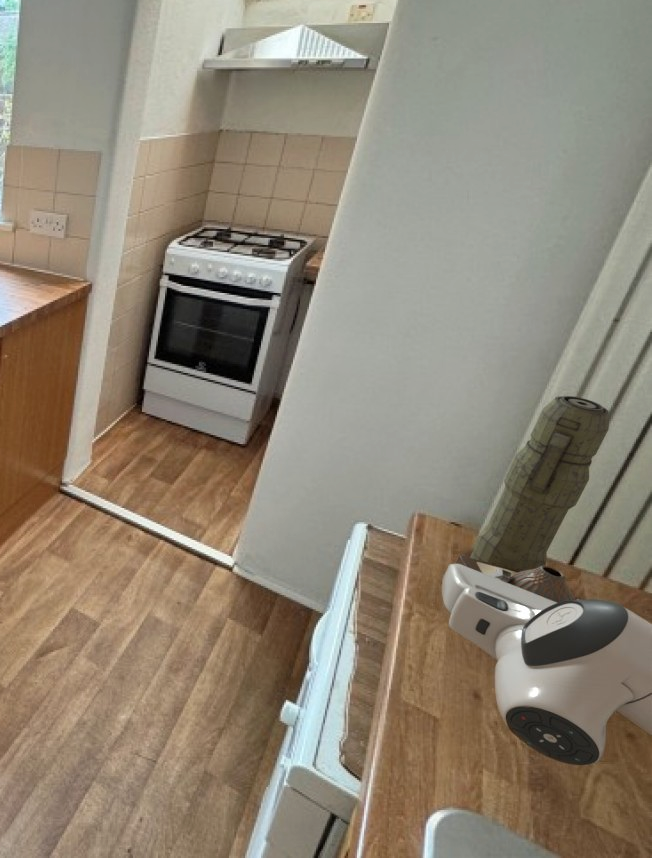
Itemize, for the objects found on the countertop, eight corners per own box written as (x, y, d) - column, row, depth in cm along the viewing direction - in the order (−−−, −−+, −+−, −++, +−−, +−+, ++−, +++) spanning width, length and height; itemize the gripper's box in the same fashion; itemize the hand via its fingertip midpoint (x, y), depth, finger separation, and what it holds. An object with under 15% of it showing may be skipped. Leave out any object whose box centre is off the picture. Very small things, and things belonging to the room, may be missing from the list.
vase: (523, 598, 90) (547, 552, 87) (575, 637, 83) (603, 589, 80) (481, 600, 89) (504, 554, 86) (531, 640, 83) (558, 592, 79)
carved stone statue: (461, 573, 108) (539, 403, 96) (473, 544, 116) (547, 382, 103) (529, 603, 102) (622, 426, 89) (537, 570, 109) (624, 402, 97)
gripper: (684, 684, 68) (663, 613, 77) (449, 586, 81) (455, 536, 90) (658, 722, 70) (640, 649, 80) (433, 620, 83) (441, 568, 93)
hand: (540, 588), depth 85 cm, fingers closed on vase, 7 cm apart
